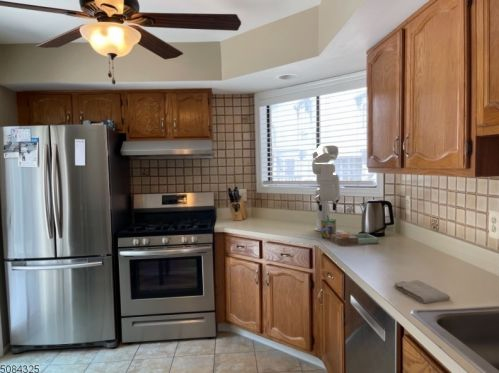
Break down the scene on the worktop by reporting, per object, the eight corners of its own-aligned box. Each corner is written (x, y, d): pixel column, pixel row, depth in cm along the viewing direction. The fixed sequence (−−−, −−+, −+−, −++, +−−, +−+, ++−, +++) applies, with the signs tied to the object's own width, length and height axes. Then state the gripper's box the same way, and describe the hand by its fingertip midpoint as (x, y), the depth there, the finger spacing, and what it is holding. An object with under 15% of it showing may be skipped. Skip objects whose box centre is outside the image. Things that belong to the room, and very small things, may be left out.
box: (347, 239, 225) (347, 234, 225) (366, 237, 227) (366, 233, 226) (358, 244, 210) (358, 239, 210) (378, 243, 212) (378, 238, 212)
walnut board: (330, 240, 223) (330, 233, 223) (347, 239, 225) (347, 232, 225) (339, 245, 208) (339, 238, 208) (358, 244, 210) (358, 237, 210)
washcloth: (416, 284, 141) (416, 277, 141) (452, 301, 124) (452, 293, 124) (391, 288, 139) (391, 280, 138) (423, 305, 121) (423, 297, 121)
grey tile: (335, 234, 221) (335, 230, 221) (342, 234, 222) (342, 230, 222) (338, 235, 217) (338, 231, 217) (345, 235, 217) (345, 231, 217)
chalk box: (335, 238, 228) (335, 216, 227) (321, 237, 231) (321, 215, 230) (336, 235, 236) (336, 214, 235) (323, 235, 239) (322, 213, 238)
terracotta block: (339, 236, 215) (339, 232, 215) (346, 236, 216) (346, 232, 215) (342, 237, 210) (342, 233, 210) (349, 237, 211) (349, 233, 211)
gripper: (337, 182, 221) (338, 209, 222) (311, 183, 218) (312, 210, 220) (342, 182, 213) (342, 210, 215) (315, 183, 211) (316, 212, 212)
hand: (327, 210), depth 217 cm, fingers open, 8 cm apart
